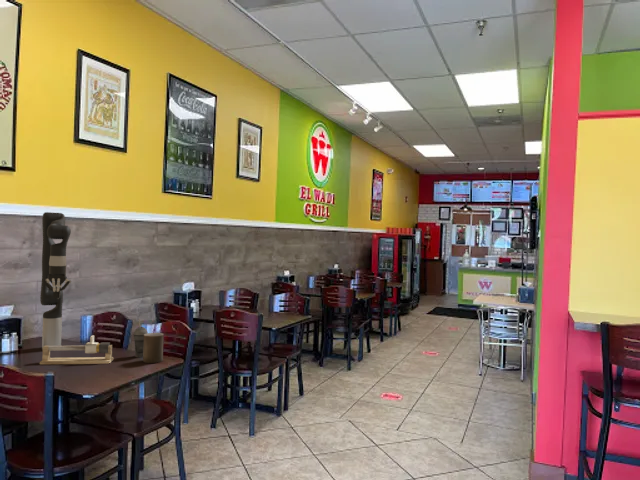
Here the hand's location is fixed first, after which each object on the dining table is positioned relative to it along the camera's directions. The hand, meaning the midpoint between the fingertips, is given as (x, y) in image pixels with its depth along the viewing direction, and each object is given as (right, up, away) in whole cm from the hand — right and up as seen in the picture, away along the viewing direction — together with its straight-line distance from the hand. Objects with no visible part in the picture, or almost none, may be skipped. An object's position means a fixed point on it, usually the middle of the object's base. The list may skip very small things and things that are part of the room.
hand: (56, 298), depth 246 cm
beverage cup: (+38, -32, +12) cm, 51 cm away
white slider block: (+19, -27, -2) cm, 33 cm away
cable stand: (+12, -31, -3) cm, 34 cm away
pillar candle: (+47, -33, +4) cm, 58 cm away
